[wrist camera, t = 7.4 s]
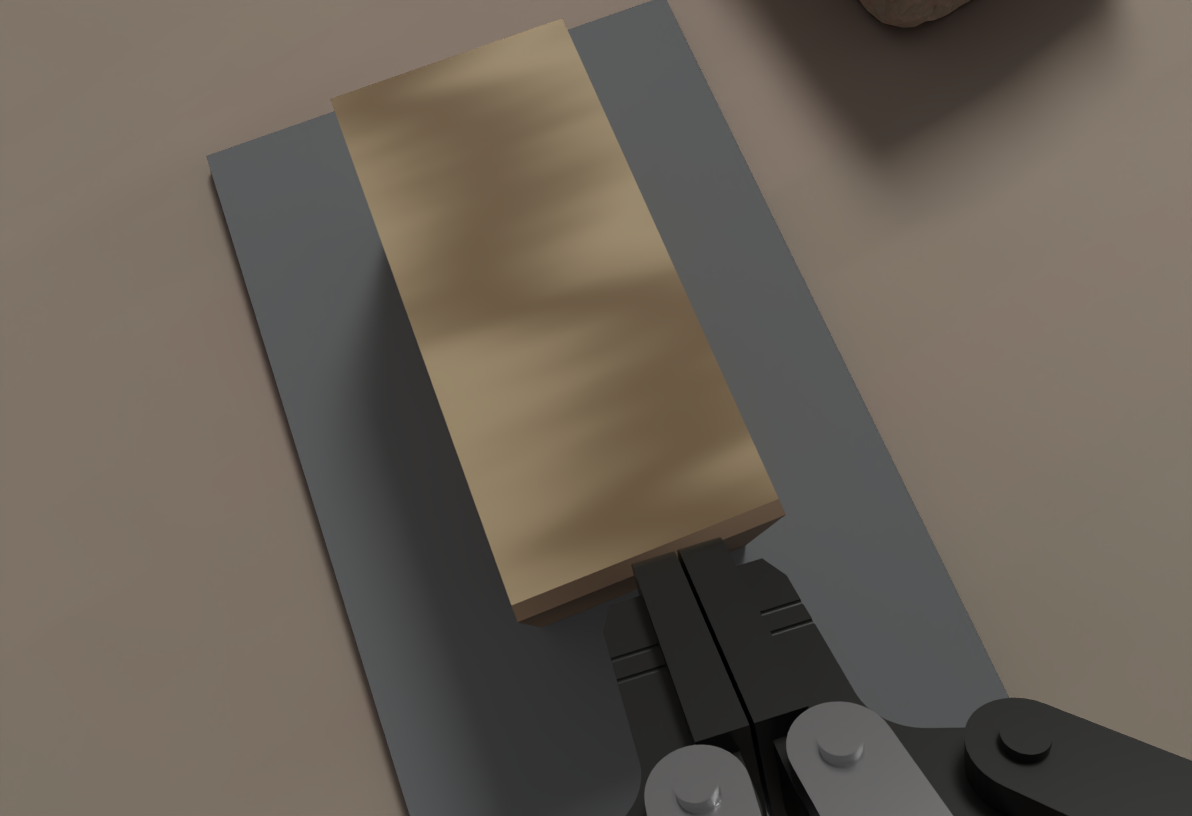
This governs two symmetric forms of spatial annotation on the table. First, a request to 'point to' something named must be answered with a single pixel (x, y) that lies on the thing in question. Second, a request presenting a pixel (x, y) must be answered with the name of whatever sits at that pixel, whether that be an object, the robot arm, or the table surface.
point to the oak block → (551, 323)
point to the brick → (910, 10)
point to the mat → (447, 509)
